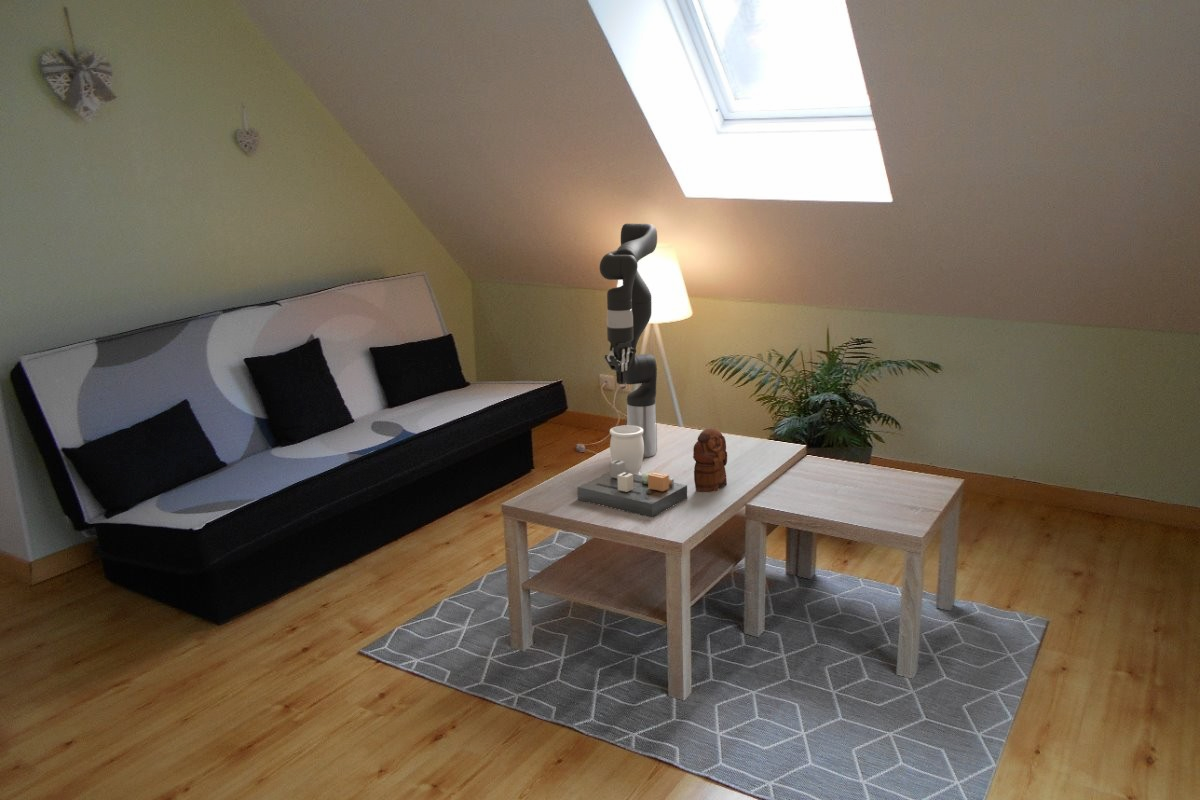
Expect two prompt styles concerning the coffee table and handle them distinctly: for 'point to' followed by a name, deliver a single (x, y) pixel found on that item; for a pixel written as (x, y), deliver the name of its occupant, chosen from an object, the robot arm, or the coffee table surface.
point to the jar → (627, 447)
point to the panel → (631, 495)
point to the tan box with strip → (658, 481)
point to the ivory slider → (625, 482)
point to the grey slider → (616, 468)
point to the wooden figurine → (710, 461)
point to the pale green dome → (645, 478)
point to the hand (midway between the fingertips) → (621, 383)
